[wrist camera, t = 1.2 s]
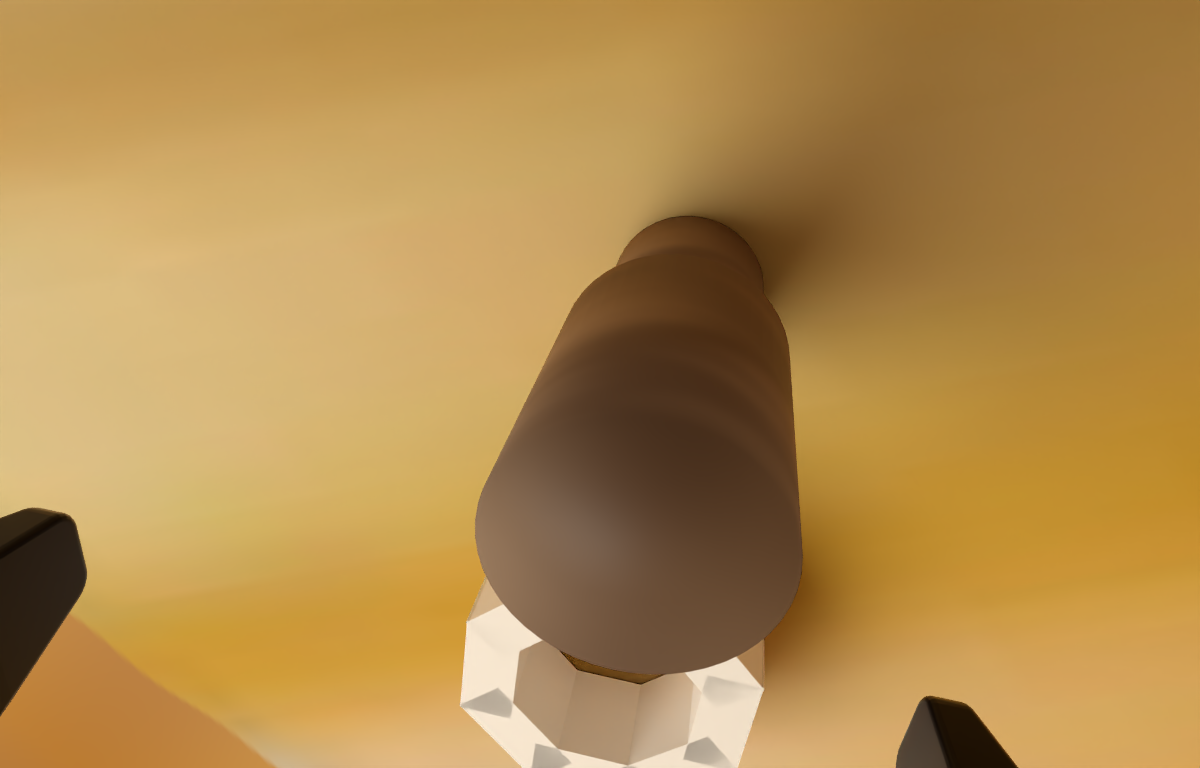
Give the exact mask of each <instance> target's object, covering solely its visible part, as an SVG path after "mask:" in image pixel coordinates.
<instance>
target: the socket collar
mask: <svg viewBox="0 0 1200 768" xmlns="http://www.w3.org/2000/svg"><path fill="white" fill-rule="evenodd" d="M466 623H467V631H466V643H465V656H464V668H463V680H462V692H461V702H460V707H462V708H463V709H464V710H465V711H466V712H467V713H468V714H469V715H470V716H471V717H472V718H473V719H474V720H475V721H476V722H477V723H478V724H479V725H480V726H481V727H482V728H483V729H484V730H485V731H486V732H487V733H488V734H489V735H490V736H491V737H492V738H493V739H494V740H495V741H496V742H497V743H498V744H499V745H500V746H501V747H502V748H503V749H504V750H505V751H506V752H507V753H508V754H509V755H510V756H511V757H512V758H513V759H514V760H515V761H516V762H517V763H518V764H519V765H520V766H521V767H522V768H738V765H739V762H740V759H741V756H742V753H743V750H744V747H745V744H746V741H747V738H748V735H749V732H750V729H751V726H752V723H753V720H754V717H755V714H756V711H757V708H758V705H759V702H760V699H761V696H762V693H763V691H764V639H763V640H761V641H760V642H759V643H758V644H757V645H755V646H753V647H752V648H750V649H749V650H747V651H746V652H744V653H742V654H741V655H739V656H737V657H734V658H732V659H730V660H728V661H726V662H723V663H720V664H717V665H714V666H711V667H708V668H705V669H700V670H695V671H691V672H684V673H675V674H666V675H664V676H661V677H659V678H656V679H654V680H651V681H649V682H646V683H644V684H641V685H640V684H635V683H631V682H627V681H622V680H618V679H613V678H609V677H605V676H600V675H596V674H592V673H587V672H583V671H579V670H577V669H576V668H575V667H574V666H573V665H572V664H571V663H570V662H569V661H568V660H567V659H566V658H565V656H564V655H563V654H562V653H561V652H560V651H559V650H558V649H556V648H555V647H553V646H551V645H550V644H548V643H547V642H545V641H543V640H542V639H540V638H539V637H538V636H536V635H535V634H534V633H532V632H531V631H530V630H528V629H527V628H526V627H525V626H524V625H523V624H522V623H520V622H519V621H518V620H517V619H516V618H515V617H514V616H513V615H512V614H511V613H510V611H509V610H508V609H507V608H506V607H505V605H504V604H503V603H502V602H501V601H500V599H499V598H498V596H497V595H496V593H495V591H494V590H493V588H492V587H491V585H490V583H489V581H488V579H487V577H485V579H484V581H483V584H482V586H481V588H480V591H479V593H478V596H477V598H476V600H475V603H474V605H473V607H472V610H471V612H470V615H469V617H468V619H467V622H466Z"/></svg>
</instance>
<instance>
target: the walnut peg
mask: <svg viewBox="0 0 1200 768" xmlns="http://www.w3.org/2000/svg"><path fill="white" fill-rule="evenodd" d="M475 538H476V544H477V551H478V555H479V558H480V562H481V565H482V568H483V571H484V573H485V575H486V577H487V579H488V581H489V583H490V585H491V587H492V588H493V590H494V591H495V593H496V595H497V596H498V598H499V599H500V601H501V602H502V603H503V604H504V605H505V607H506V608H507V609H508V610H509V611H510V613H511V614H512V615H513V616H514V617H515V618H516V619H517V620H518V621H519V622H520V623H522V624H523V625H524V626H525V627H526V628H527V629H528V630H530V631H531V632H532V633H534V634H535V635H536V636H538V637H539V638H540V639H542V640H543V641H545V642H547V643H548V644H550V645H551V646H553V647H555V648H556V649H558V650H560V651H562V652H564V653H566V654H568V655H570V656H573V657H575V658H577V659H580V660H583V661H585V662H588V663H591V664H594V665H597V666H601V667H605V668H608V669H612V670H618V671H623V672H629V673H639V674H675V673H684V672H691V671H695V670H700V669H705V668H708V667H711V666H714V665H717V664H720V663H723V662H726V661H728V660H730V659H732V658H734V657H737V656H739V655H741V654H742V653H744V652H746V651H747V650H749V649H750V648H752V647H753V646H755V645H757V644H758V643H759V642H760V641H761V640H763V639H764V638H765V637H766V636H767V635H768V634H770V633H771V632H772V630H773V629H774V628H775V627H776V626H777V625H778V624H779V622H780V621H781V620H782V619H783V617H784V616H785V614H786V612H787V611H788V609H789V608H790V606H791V604H792V602H793V599H794V597H795V595H796V592H797V590H798V586H799V582H800V578H801V573H802V558H803V554H802V538H801V523H800V507H799V492H798V476H797V461H796V445H795V430H794V415H793V399H792V384H791V368H790V355H789V345H788V341H787V337H786V333H785V330H784V327H783V325H782V323H781V320H780V318H779V316H778V314H777V313H776V311H775V309H774V308H773V306H772V304H771V303H770V302H769V301H768V299H767V298H766V297H765V296H764V294H763V276H762V272H761V268H760V265H759V263H758V260H757V258H756V256H755V254H754V253H753V251H752V249H751V248H750V247H749V245H748V244H747V243H746V242H745V241H744V240H743V239H742V238H741V237H740V236H739V235H738V234H737V233H735V232H734V231H733V230H731V229H730V228H728V227H726V226H724V225H723V224H721V223H718V222H716V221H713V220H710V219H706V218H701V217H693V216H681V217H674V218H669V219H665V220H662V221H659V222H657V223H655V224H652V225H651V226H649V227H647V228H645V229H644V230H643V231H641V232H640V233H639V234H637V235H636V236H635V237H634V238H633V239H632V240H631V241H630V242H629V244H628V245H627V246H626V248H625V249H624V251H623V253H622V255H621V256H620V258H619V261H618V263H617V265H616V267H614V268H612V269H611V270H609V271H607V272H605V273H604V274H603V275H601V276H600V277H599V278H597V279H596V280H595V281H593V282H592V283H591V284H590V285H589V286H588V287H587V288H586V289H585V290H584V291H583V293H582V294H581V295H580V297H579V298H578V299H577V301H576V302H575V304H574V305H573V307H572V309H571V311H570V313H569V315H568V317H567V319H566V321H565V323H564V325H563V327H562V329H561V331H560V333H559V335H558V337H557V339H556V341H555V343H554V345H553V347H552V349H551V351H550V353H549V355H548V357H547V359H546V361H545V364H544V366H543V368H542V370H541V372H540V374H539V376H538V378H537V380H536V382H535V384H534V386H533V388H532V390H531V392H530V394H529V396H528V398H527V400H526V402H525V404H524V406H523V408H522V410H521V412H520V414H519V416H518V418H517V420H516V423H515V425H514V427H513V429H512V431H511V433H510V435H509V437H508V439H507V441H506V443H505V445H504V447H503V449H502V451H501V453H500V455H499V457H498V459H497V461H496V463H495V465H494V467H493V469H492V471H491V473H490V475H489V477H488V479H487V481H486V484H485V486H484V488H483V491H482V493H481V496H480V499H479V502H478V507H477V513H476V519H475Z"/></svg>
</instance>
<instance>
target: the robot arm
mask: <svg viewBox="0 0 1200 768" xmlns="http://www.w3.org/2000/svg"><path fill="white" fill-rule="evenodd" d="M86 579H87V569H86V564H85V560H84V556H83V552H82V547H81V543H80V539H79V535H78V530H77V526H76V523H75V521H74V520H73V519H72V518H71V516H69V515H67V514H65V513H61V512H56V511H51V510H47V509H42V508H27V509H24V510H21V511H18V512H15V513H13V514H10V515H7V516H5V517H2V518H0V716H1V715H2V713H3V712H4V710H5V709H6V707H7V706H8V705H9V703H10V702H11V700H12V699H13V697H14V696H15V694H16V693H17V691H18V690H19V688H20V687H21V685H22V684H23V682H24V681H25V679H26V678H27V676H28V674H29V673H30V671H31V670H32V668H33V667H34V665H35V664H36V662H37V661H38V659H39V658H40V656H41V655H42V653H43V652H44V650H45V649H46V647H47V646H48V644H49V643H50V641H51V640H52V638H53V637H54V635H55V633H56V632H57V630H58V629H59V627H60V626H61V624H62V623H63V621H64V620H65V618H66V617H67V615H68V614H69V612H70V611H71V609H72V608H73V606H74V605H75V603H76V602H77V600H78V598H79V597H80V595H81V593H82V591H83V589H84V586H85V583H86ZM896 768H1018V767H1017V765H1016V764H1015V763H1014V762H1013V760H1012V759H1011V758H1010V756H1009V755H1008V754H1007V753H1006V751H1005V750H1004V749H1003V747H1002V746H1001V745H1000V744H999V742H998V741H997V740H996V738H995V737H994V736H993V735H992V733H991V732H990V731H989V729H988V728H987V727H986V726H985V724H984V723H983V722H982V720H981V719H980V718H979V717H978V715H977V714H976V713H975V712H974V710H973V709H972V708H971V707H969V706H968V705H967V704H965V703H962V702H958V701H954V700H949V699H944V698H940V697H935V696H926V697H924V698H923V699H922V700H921V701H920V702H919V704H918V706H917V708H916V711H915V713H914V715H913V718H912V720H911V722H910V725H909V727H908V729H907V731H906V734H905V736H904V738H903V741H902V743H901V745H900V748H899V751H898V755H897V760H896Z"/></svg>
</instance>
